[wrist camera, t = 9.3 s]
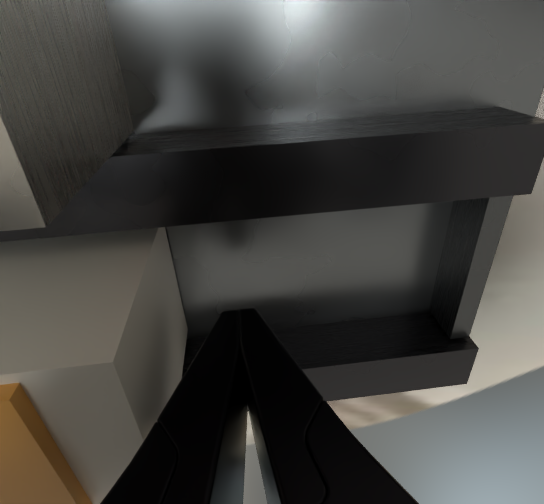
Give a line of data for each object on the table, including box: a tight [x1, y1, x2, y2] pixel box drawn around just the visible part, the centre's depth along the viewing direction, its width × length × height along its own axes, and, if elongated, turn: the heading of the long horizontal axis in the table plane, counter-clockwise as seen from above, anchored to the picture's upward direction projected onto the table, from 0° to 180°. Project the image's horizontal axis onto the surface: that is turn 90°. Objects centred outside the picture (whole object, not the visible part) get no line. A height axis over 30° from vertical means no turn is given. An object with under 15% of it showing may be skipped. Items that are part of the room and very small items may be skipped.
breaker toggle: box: [0, 227, 188, 504], centre depth 8 cm, size 4×4×5 cm
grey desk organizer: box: [0, 0, 544, 411], centre depth 8 cm, size 16×11×6 cm
